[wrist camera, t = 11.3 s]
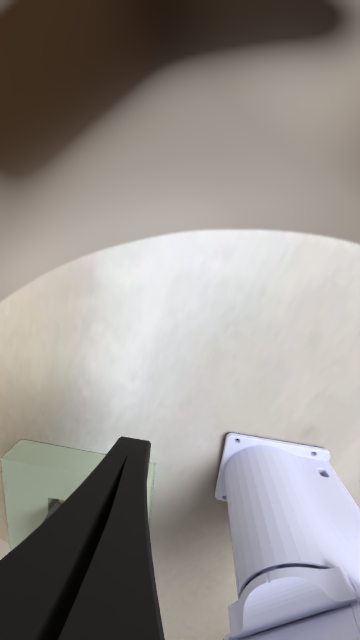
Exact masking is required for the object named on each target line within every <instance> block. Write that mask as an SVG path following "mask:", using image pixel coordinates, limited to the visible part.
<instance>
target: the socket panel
mask: <svg viewBox="0 0 360 640" xmlns="http://www.w3.org/2000/svg"><path fill="white" fill-rule="evenodd" d="M105 456H106V455H105V454H100V453H94V452H89V451H83V450H78V449H72V448H67V447H61V446H56V445H50V444H45V443H39V442H34V441H28V440H23V439H21V440H20V441H19V442H18V443H17V444H16V445H15V446H14V447H12V448H11V449H10V450H9V451H8V452H7V453H6V454H5V455H4V456H3V457H2V458H1V469H2V478H3V487H4V497H5V506H6V515H7V525H8V534H9V543H10V552H11V551H12V550H13V549H14V548H15V547H16V546H17V545H19V544H20V543H21V542H22V541H23V540H24V539H25V538H27V537H28V536H29V535H30V534H31V533H32V532H33V531H34V530H35V529H36V528H37V527H39V526H40V525H41V524H42V522H43V521H44V519H45V517H46V516H47V514H48V513H49V511H50V509H51V508H52V506H53V505H54V503H55V502H59V500H64V501H65V500H66V499H67V498H68V497H69V496H70V495H71V494H72V493H73V492H74V491H75V490H76V489H77V488H78V487H79V486H80V485H81V483H82V482H83V481H84V480H85V479H86V478H87V477H88V476H89V474H90V473H91V472H92V471H93V470H94V469H95V468H96V467H97V465H98V464H99V463H100V462H101V461H102V459H103V458H104V457H105ZM155 466H156V464H155V463H149V468H148V477H147V506H148V522H149V520H150V511H151V502H152V493H153V484H154V475H155Z"/></svg>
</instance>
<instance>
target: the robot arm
mask: <svg viewBox="0 0 360 640" xmlns="http://www.w3.org/2000/svg"><path fill="white" fill-rule="evenodd" d="M235 439H239V440H235ZM150 448H151V443H150V442H149V441H146V440H139V439H133V438H127V437H120V438H119V439H118V440H117V442H116V443H115V444H114V446H113V447H112V448H111V450H110V451H109V452H108V453H107V455H106V456H105V457H104V458H103V459H102V461H101V462H100V463H99V464H98V465H97V467H96V468H95V469H94V470H93V471H92V472H91V473H90V474H89V476H88V477H87V478H86V479H85V480H84V481H83V482H82V483H81V485H80V486H79V487H78V488H77V489H76V490H75V491H74V492H73V493H72V494H71V495H70V496H69V497H68V498H67V499H66V500H65V501H64V502H63V503H62V504H61V505H60V506H59V507H58V508H57V509H56V510H55V511H54V512H53V513H52V514H51V515H50V516H49V517H48V518H47V519H46V520H45V521H44V522H43V523H42V524H41V525H40V526H39V527H37V528H36V529H35V530H34V531H33V532H32V533H31V534H30V535H29V536H28V537H27V538H25V539H24V540H23V541H22V542H21V543H20V544H19V545H17V546H16V547H15V548H14V549H13V550H12V551H11V552H9V553H8V554H7V555H6V556H5V557H4V558H2V559H1V560H0V640H165V639H164V633H163V627H162V621H161V615H160V608H159V602H158V596H157V590H156V583H155V576H154V568H153V561H152V552H151V544H150V533H149V522H148V506H147V477H148V468H149V458H150ZM312 452H313V453H312ZM329 459H330V453H329V451H328V450H327V449H324V448H318V447H313V446H307V445H301V444H295V443H289V442H283V441H277V440H271V439H265V438H259V437H253V436H247V435H241V434H236V433H229V434H227V436H226V440H225V445H224V450H223V455H222V460H221V465H220V470H219V475H218V479H217V484H216V489H215V498H216V499H218V500H221V501H226V502H227V504H228V513H229V522H230V530H231V539H232V548H233V557H234V566H235V575H236V583H237V592H238V601H236V602H235V603H233V604H231V605H229V619H230V631H231V634H229V635H227V636H226V637H225V638H224V639H223V640H360V509H359V508H358V506H357V504H356V503H355V501H354V500H353V498H352V497H351V495H350V494H349V492H348V491H347V489H346V488H345V486H344V485H343V483H342V482H341V480H340V479H339V477H338V476H337V474H336V473H335V471H334V470H333V468H332V467H331V465H330V464H329Z"/></svg>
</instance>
